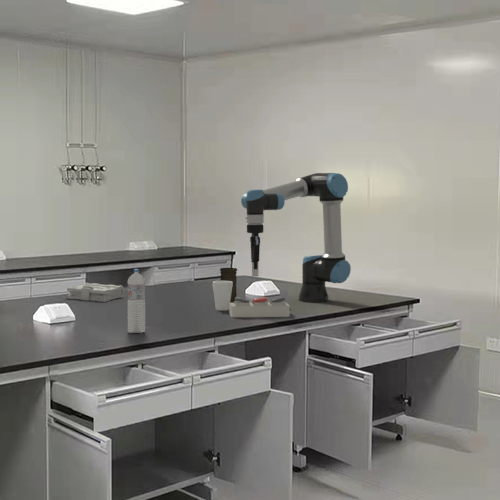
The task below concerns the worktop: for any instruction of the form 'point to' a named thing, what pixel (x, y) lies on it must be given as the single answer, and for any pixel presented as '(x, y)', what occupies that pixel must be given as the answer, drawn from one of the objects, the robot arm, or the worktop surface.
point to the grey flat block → (96, 292)
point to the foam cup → (222, 294)
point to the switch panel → (259, 309)
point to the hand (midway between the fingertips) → (255, 276)
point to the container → (230, 279)
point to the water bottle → (136, 303)
